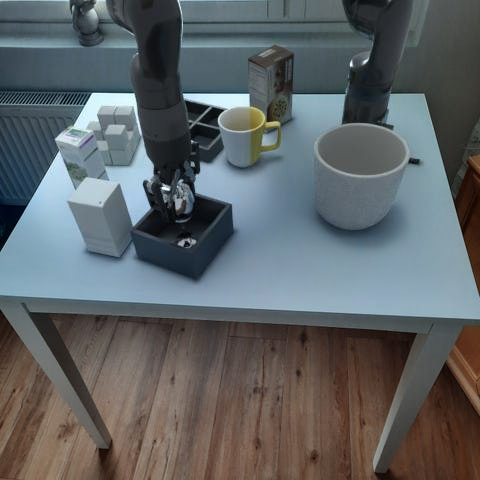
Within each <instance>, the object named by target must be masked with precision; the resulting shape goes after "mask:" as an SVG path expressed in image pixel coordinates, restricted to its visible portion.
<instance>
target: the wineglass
mask: <svg viewBox="0 0 480 480" xmlns="http://www.w3.org/2000/svg"><path fill="white" fill-rule="evenodd" d="M181 182H182V181H181ZM181 182H180V181H179V182H178V184H177V191H176V195H174V196H173V204H172V206H173V208H174V213H175V218H176V221H175V222H179V223H180V224H181V226H182V228H183V233H181V234H179V235H178V236H177V237H176V238H175V244H177V245H180V246H183V247H186V248H190V247H192V246H194V245H195V244H196V242H197V236H196V235H195V234H193V233H190V232H186V231H185V224H186V221H188V220H190V219H191V218H192V217H193V215H194V213H195V208H196V205H195V200H194V197H193V194H192V192H191V190H190V188H189V186H188V185H187V184H185V183H181ZM170 187H171V186H167V185H166V186H165V188H168V189H170ZM163 199H164V200H167V195H166V194H164V196H163Z"/></svg>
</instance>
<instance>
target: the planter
mask: <svg viewBox="0 0 480 480" xmlns="http://www.w3.org/2000/svg"><path fill="white" fill-rule="evenodd" d="M409 158H411V149H410V146H409V144H408V142H407V141H406V140H405V138H403V137H402V136H401V135H400V134H399V133H397V132H395V131H394V130H393V131H392V130H390V129H387V128H385V127H382V126H378V125H374V124H367V123H350V124H343V125H341V124H339V125H335V126H333V127H331V128H329V129H327V130H325V131H323V132H322V133H321V134H320V135H319V136H318V138H317V139H316V140H315V143H314V147H313V199H314V203H315V206H316V209H317V211H318V213H319V214H320V216H321V217H322V218H323V220H324V221H326V222H327V223H329V224H330V225H331V226H334V227H336V228H338V229H342V230H346V231H359V230H364V229H368V228H370V227H373V226H374V225H376V224H378V223H379V222H380V221H381V220H383V219H384V218H385V216H386V215H388V213H389V211H390V209H391V207H392V206H393V203H394V201H395V200H396V197H397V193H398V190H399V188H400V185H401V183H402V180H403V178H404V174H405V171H406V169H407V166H408V164H409V162H408V161H409Z"/></svg>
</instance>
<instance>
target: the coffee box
mask: <svg viewBox="0 0 480 480" xmlns="http://www.w3.org/2000/svg"><path fill="white" fill-rule="evenodd" d="M294 60H295V52H293V51H290V50H289V49H287V48H285V47H283V46H281V45H278V44H272V45H271V46H269V47H267V48H265V49H263V50H260V51H258V52H257V53H255V54H253V55H251V56H249V57H247V68H248V69H247V71H248V96H249V97H248V99H249V103H248V104H249V107H254V108H256V109H258V110H260V111H261V112H262V113H263V114H264V115H265V123H267V122H275V121H277V122H279V123H280V125H283V124H285V123H286V122H288V121H290V120H291V119H292V116H293V93H294V92H293V91H294V64H295V63H294V62H295V61H294ZM275 129H277V127H272V128H268V129H266V130H265V131H264V133H269V132H271V131H273V130H275Z"/></svg>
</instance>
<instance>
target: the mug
mask: <svg viewBox="0 0 480 480" xmlns="http://www.w3.org/2000/svg"><path fill="white" fill-rule="evenodd" d="M218 124H219V129H220V133H221V137H222V141H223V145H224V148H223V149H224V152H225V156H226V160H227V161H228V162H229V163H230V164H232V165H233V166H235V167H237V168H248V167H249V168H250V167H251V166H252V165H254V164H255V163H256V162H257V161H258V160H259V159H260V156H261V153H266V152H270V151H275V150H277V149H279V148H280V146H281V142H282V126H281V125H282V124H281V125H280V123H279V122H277V121H275V122H267V123H265V115H264V114H263V113H262V112H261V111H260V110H258V109H256V108H254V107H250V105H249V106H248V105H237V106H233V107H229V108H227V110H225V111H224V112H222V113H221V114H220V116H219V117H218ZM272 127H276V129H277V140H276V142H275V143H274V144H269V145H262V144H263V138H264V133H265V132H264V131H265V130H266V129H268V128H272Z"/></svg>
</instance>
